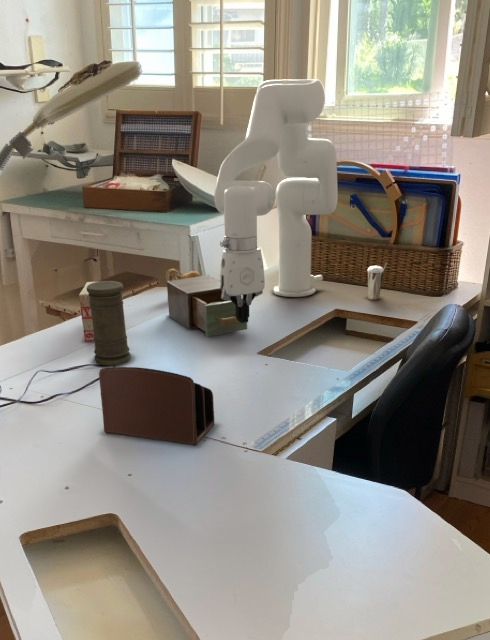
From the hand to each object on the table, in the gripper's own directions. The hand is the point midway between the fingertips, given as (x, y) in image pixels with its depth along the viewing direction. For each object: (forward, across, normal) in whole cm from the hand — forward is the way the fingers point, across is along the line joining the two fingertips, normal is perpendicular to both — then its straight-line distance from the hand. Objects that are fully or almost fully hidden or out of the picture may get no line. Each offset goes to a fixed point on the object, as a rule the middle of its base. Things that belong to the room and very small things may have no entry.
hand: (242, 321), depth 200 cm
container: (+7, -32, +7) cm, 33 cm away
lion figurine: (+6, +6, +50) cm, 51 cm away
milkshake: (+6, +52, +19) cm, 56 cm away
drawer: (+5, 0, +14) cm, 15 cm away
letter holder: (+7, -37, -38) cm, 53 cm away
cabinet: (+6, 0, +27) cm, 28 cm away
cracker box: (+6, -26, +32) cm, 42 cm away
